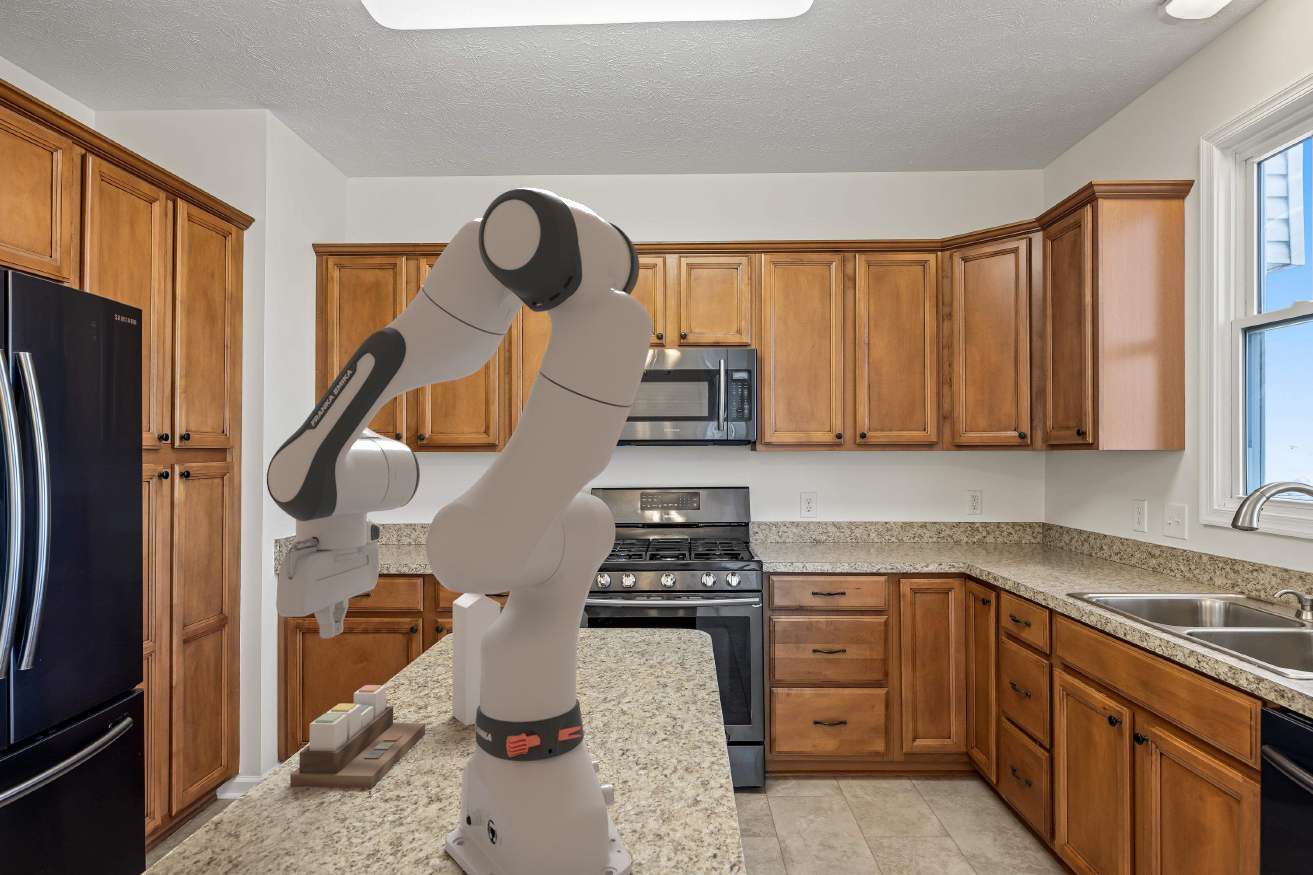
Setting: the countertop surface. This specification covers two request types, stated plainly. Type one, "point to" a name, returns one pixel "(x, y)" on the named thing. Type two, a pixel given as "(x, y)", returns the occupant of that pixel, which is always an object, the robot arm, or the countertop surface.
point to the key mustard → (349, 717)
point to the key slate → (366, 715)
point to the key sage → (328, 732)
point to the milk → (469, 651)
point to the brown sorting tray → (359, 755)
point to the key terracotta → (372, 698)
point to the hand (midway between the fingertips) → (331, 635)
